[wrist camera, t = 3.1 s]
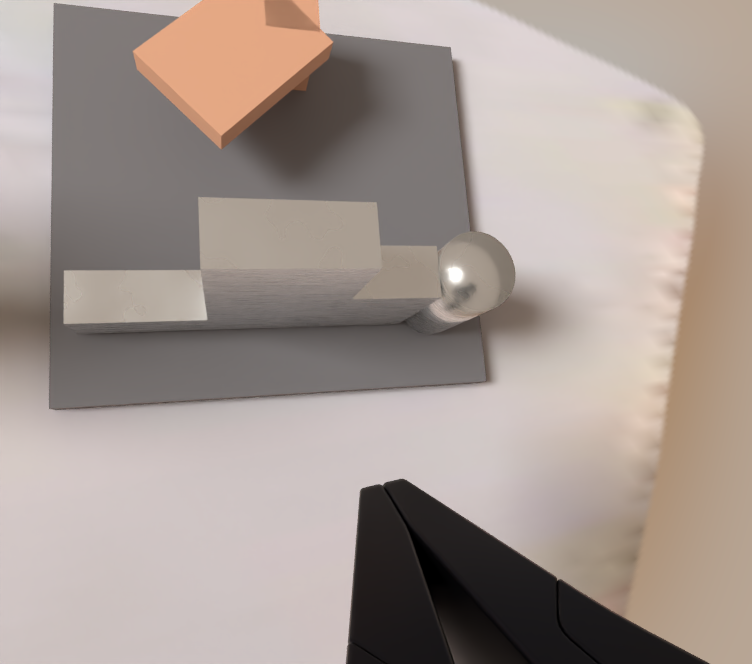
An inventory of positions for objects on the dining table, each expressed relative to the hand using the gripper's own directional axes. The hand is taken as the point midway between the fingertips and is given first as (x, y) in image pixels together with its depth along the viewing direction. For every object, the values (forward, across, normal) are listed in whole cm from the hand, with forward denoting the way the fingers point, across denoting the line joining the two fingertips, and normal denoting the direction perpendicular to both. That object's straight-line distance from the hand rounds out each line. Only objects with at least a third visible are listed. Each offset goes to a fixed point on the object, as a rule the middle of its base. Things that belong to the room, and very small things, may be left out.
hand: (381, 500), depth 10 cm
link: (+13, 0, -3) cm, 13 cm away
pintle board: (+17, 0, 0) cm, 17 cm away
